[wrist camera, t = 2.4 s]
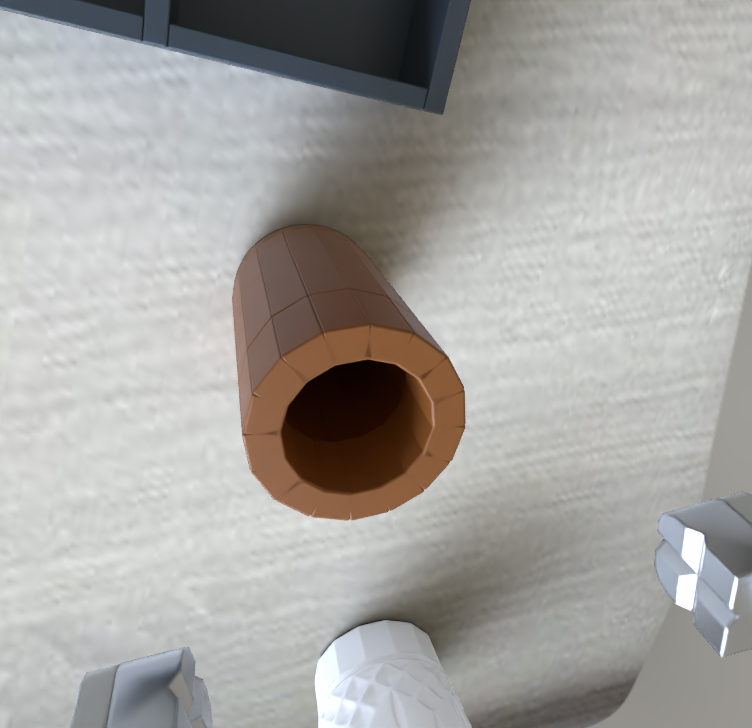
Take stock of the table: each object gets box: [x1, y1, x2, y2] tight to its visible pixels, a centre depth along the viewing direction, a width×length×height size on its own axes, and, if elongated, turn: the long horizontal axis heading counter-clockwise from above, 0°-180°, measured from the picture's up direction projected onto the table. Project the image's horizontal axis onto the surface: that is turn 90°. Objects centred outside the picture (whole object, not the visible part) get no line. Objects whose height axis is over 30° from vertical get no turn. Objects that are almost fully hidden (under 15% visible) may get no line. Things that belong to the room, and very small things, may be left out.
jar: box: [232, 224, 465, 520], centre depth 19 cm, size 6×6×10 cm
